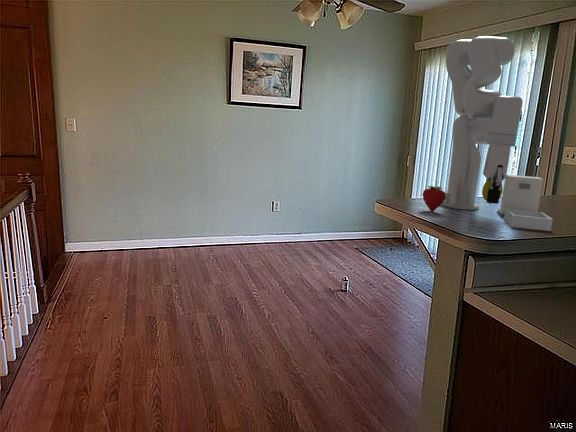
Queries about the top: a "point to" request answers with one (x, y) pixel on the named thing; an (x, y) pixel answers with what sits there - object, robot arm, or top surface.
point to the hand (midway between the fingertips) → (490, 200)
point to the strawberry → (433, 197)
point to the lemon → (487, 187)
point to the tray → (528, 219)
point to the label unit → (521, 193)
